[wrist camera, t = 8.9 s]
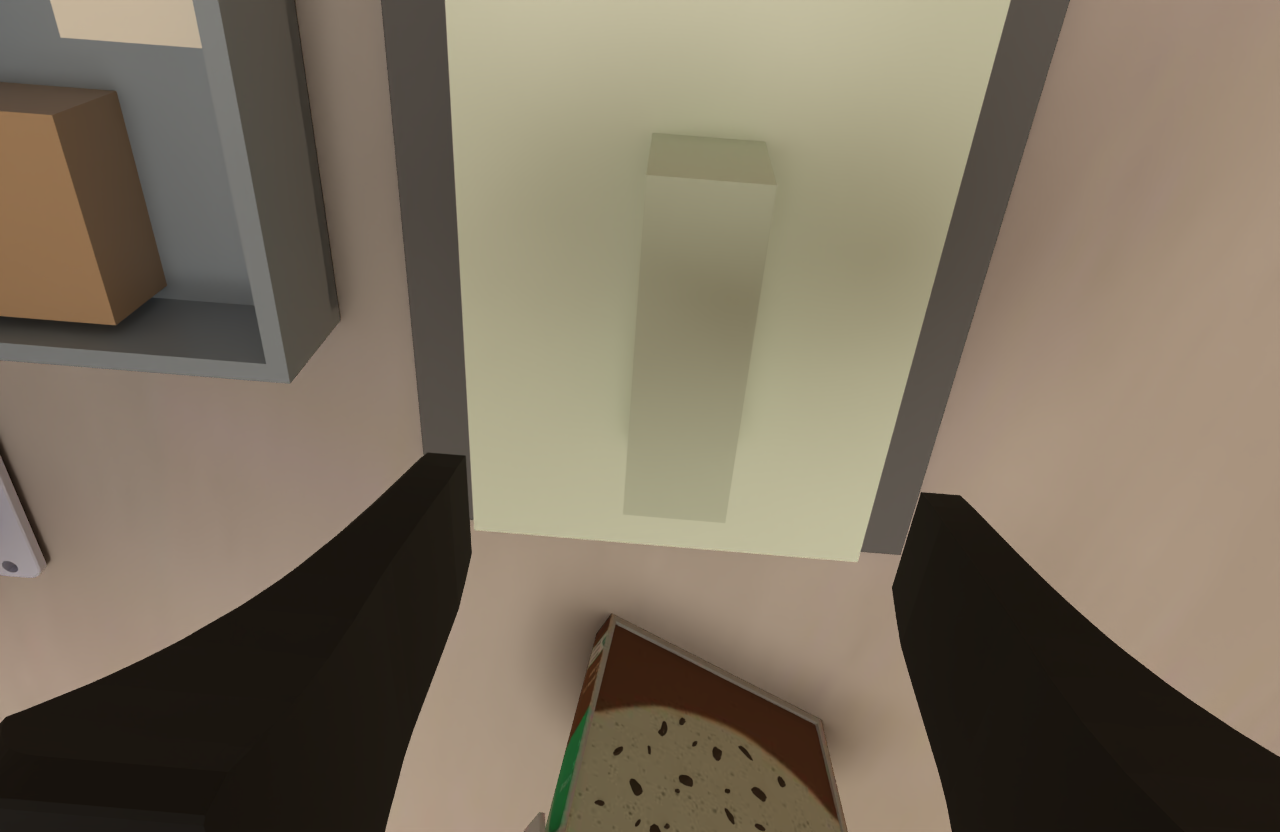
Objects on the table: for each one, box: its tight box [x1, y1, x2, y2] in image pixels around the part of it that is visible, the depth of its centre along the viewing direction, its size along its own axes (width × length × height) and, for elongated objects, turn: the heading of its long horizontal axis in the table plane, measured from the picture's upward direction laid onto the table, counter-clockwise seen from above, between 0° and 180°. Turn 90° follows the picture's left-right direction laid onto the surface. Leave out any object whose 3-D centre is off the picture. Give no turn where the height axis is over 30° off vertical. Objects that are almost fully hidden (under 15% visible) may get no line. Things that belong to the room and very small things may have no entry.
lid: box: [445, 0, 1011, 562], centre depth 20 cm, size 11×15×5 cm
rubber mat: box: [381, 0, 1070, 555], centre depth 22 cm, size 15×18×1 cm
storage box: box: [0, 0, 340, 384], centre depth 19 cm, size 9×13×4 cm
